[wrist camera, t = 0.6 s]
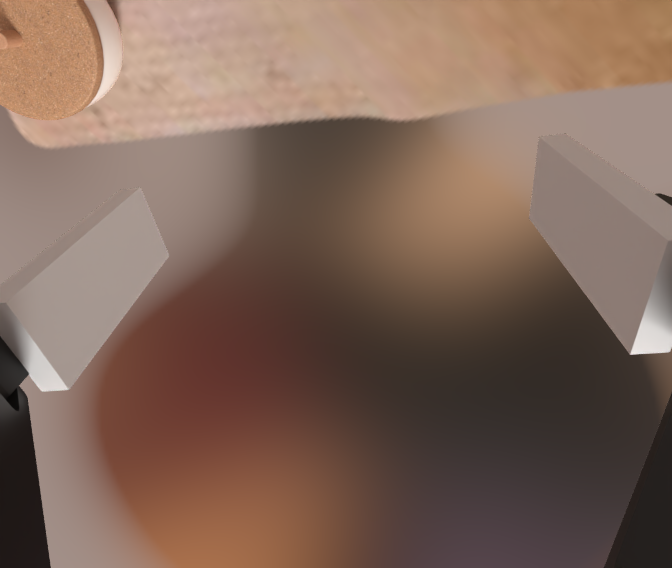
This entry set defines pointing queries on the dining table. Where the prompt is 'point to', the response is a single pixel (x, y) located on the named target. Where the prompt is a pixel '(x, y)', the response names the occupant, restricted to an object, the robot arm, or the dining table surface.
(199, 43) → the dining table surface
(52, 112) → the lidded jar
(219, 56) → the dining table surface
